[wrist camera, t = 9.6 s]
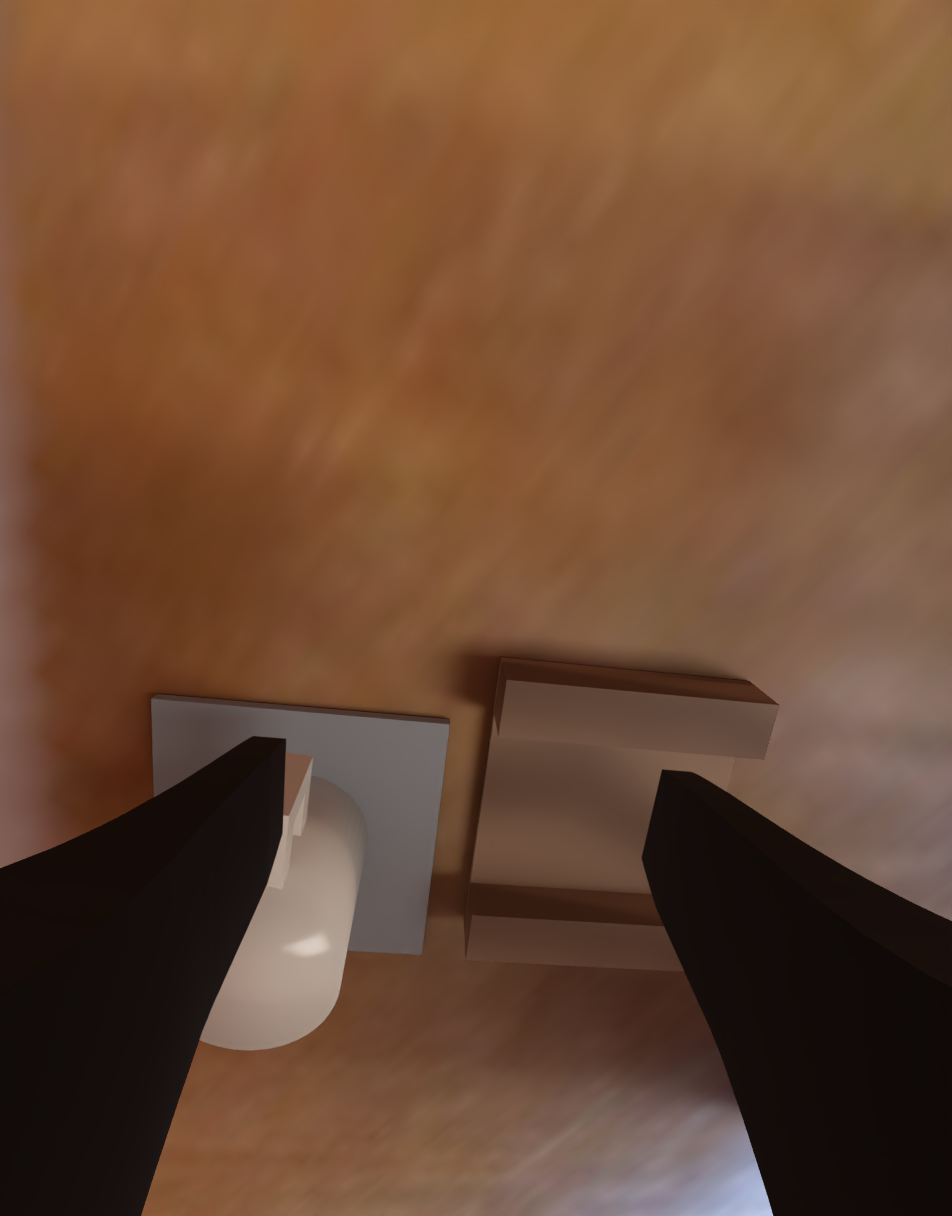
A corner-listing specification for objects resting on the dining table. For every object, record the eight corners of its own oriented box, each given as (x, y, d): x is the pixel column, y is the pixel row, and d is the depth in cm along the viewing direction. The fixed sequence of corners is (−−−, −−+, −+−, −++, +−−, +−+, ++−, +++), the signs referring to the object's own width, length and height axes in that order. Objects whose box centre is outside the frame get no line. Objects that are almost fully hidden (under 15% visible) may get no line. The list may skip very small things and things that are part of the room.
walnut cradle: (683, 930, 24) (704, 972, 22) (463, 917, 24) (465, 960, 22) (749, 680, 21) (779, 705, 19) (500, 656, 21) (507, 679, 19)
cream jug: (359, 898, 23) (331, 1056, 17) (223, 884, 22) (146, 1043, 16) (383, 727, 21) (360, 839, 15) (235, 708, 20) (152, 816, 14)
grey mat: (422, 946, 24) (421, 954, 23) (162, 932, 23) (157, 940, 23) (449, 719, 21) (449, 724, 21) (156, 693, 20) (151, 698, 20)
